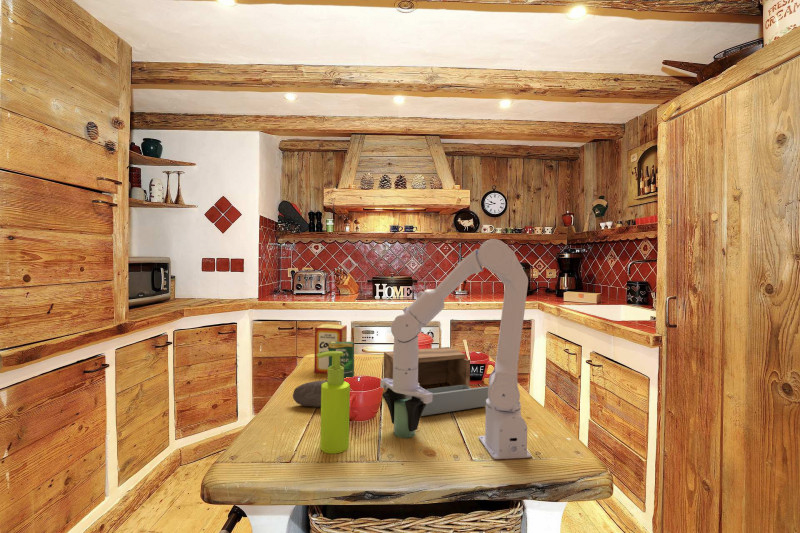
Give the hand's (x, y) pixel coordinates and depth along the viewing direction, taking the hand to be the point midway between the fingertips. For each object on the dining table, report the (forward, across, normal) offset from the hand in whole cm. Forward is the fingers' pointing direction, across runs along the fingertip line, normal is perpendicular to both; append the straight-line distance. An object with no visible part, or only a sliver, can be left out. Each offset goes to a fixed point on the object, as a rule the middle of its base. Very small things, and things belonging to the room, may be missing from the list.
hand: (404, 426), depth 88 cm
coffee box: (+2, +38, -11) cm, 40 cm away
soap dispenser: (+2, +6, +16) cm, 17 cm away
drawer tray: (+2, +5, -21) cm, 21 cm away
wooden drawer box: (+2, +15, -25) cm, 29 cm away
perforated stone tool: (+2, +26, +5) cm, 27 cm away
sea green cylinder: (+2, 0, 0) cm, 2 cm away
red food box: (+2, +52, -17) cm, 54 cm away
